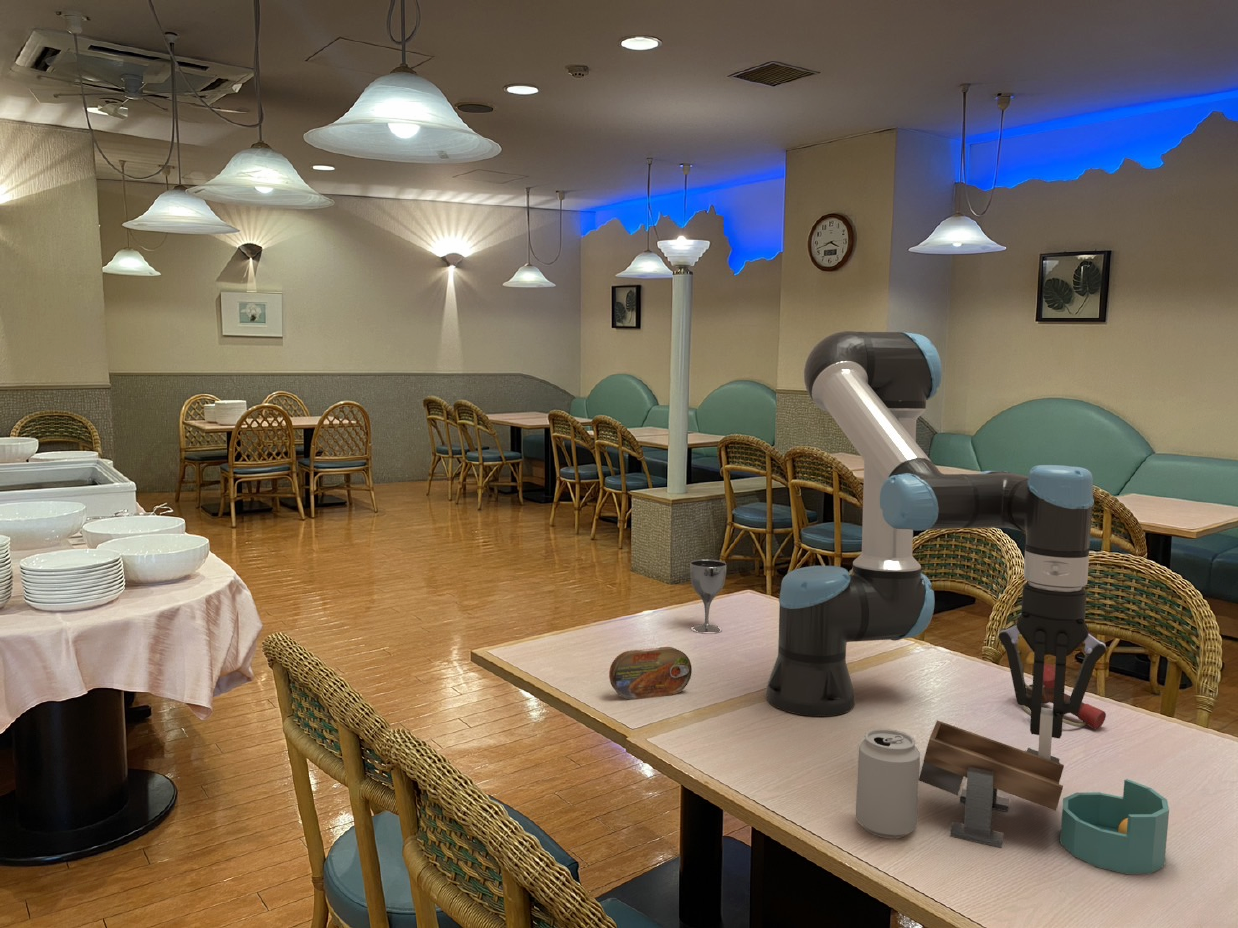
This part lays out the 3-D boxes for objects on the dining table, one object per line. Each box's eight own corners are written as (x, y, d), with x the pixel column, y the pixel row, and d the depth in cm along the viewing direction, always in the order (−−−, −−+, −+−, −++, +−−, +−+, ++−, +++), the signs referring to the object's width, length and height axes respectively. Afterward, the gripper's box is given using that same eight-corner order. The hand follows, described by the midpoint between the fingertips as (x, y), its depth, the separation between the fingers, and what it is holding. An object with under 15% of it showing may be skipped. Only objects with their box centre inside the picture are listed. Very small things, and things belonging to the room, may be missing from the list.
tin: (612, 702, 158) (613, 655, 157) (606, 696, 161) (607, 649, 160) (692, 693, 163) (693, 647, 162) (685, 687, 166) (686, 642, 165)
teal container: (1059, 858, 110) (1063, 802, 109) (1061, 817, 120) (1064, 766, 119) (1167, 883, 105) (1172, 825, 104) (1159, 838, 115) (1164, 785, 114)
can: (847, 812, 120) (851, 725, 119) (902, 811, 121) (906, 724, 120) (867, 842, 113) (871, 749, 111) (925, 840, 113) (930, 748, 112)
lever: (917, 782, 119) (929, 739, 117) (932, 745, 130) (943, 705, 129) (1049, 833, 112) (1062, 787, 111) (1052, 789, 124) (1064, 747, 123)
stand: (950, 835, 115) (954, 771, 114) (962, 794, 126) (965, 735, 125) (1001, 847, 112) (1005, 781, 111) (1008, 804, 123) (1012, 743, 122)
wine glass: (687, 633, 200) (688, 565, 198) (690, 623, 208) (691, 558, 206) (723, 635, 199) (725, 567, 197) (725, 625, 206) (727, 560, 205)
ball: (1136, 864, 109) (1110, 836, 110) (1134, 848, 113) (1109, 822, 114) (1165, 847, 108) (1139, 819, 109) (1162, 832, 111) (1137, 805, 112)
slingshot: (1075, 698, 164) (1127, 703, 149) (1041, 742, 162) (1091, 752, 147) (1003, 634, 165) (1048, 633, 150) (970, 677, 163) (1012, 680, 148)
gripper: (998, 584, 118) (989, 759, 120) (1112, 596, 112) (1100, 780, 115) (1002, 573, 125) (993, 739, 127) (1110, 584, 119) (1099, 758, 121)
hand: (1044, 758), depth 121 cm, fingers closed
